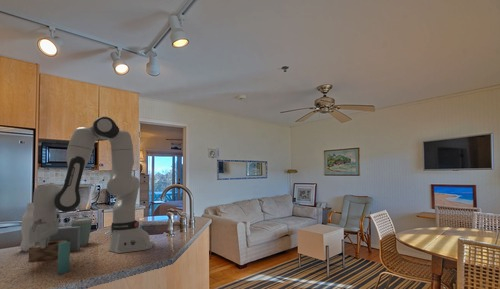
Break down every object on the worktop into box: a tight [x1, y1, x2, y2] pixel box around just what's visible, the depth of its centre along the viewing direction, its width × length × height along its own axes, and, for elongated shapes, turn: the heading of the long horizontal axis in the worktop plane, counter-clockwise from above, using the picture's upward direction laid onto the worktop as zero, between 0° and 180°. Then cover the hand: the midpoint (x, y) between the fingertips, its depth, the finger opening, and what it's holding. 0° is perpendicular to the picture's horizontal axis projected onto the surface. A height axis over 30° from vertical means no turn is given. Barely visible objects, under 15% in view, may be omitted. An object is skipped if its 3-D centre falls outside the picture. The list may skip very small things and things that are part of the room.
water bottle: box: [19, 202, 35, 252], centre depth 145 cm, size 7×7×25 cm
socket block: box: [28, 239, 69, 262], centre depth 133 cm, size 12×12×6 cm
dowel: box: [57, 241, 71, 275], centre depth 112 cm, size 4×4×12 cm
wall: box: [35, 226, 81, 252], centre depth 141 cm, size 20×3×12 cm, turn 102°
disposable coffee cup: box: [70, 216, 93, 247], centre depth 153 cm, size 11×11×15 cm
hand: (44, 247), depth 126 cm, fingers closed
